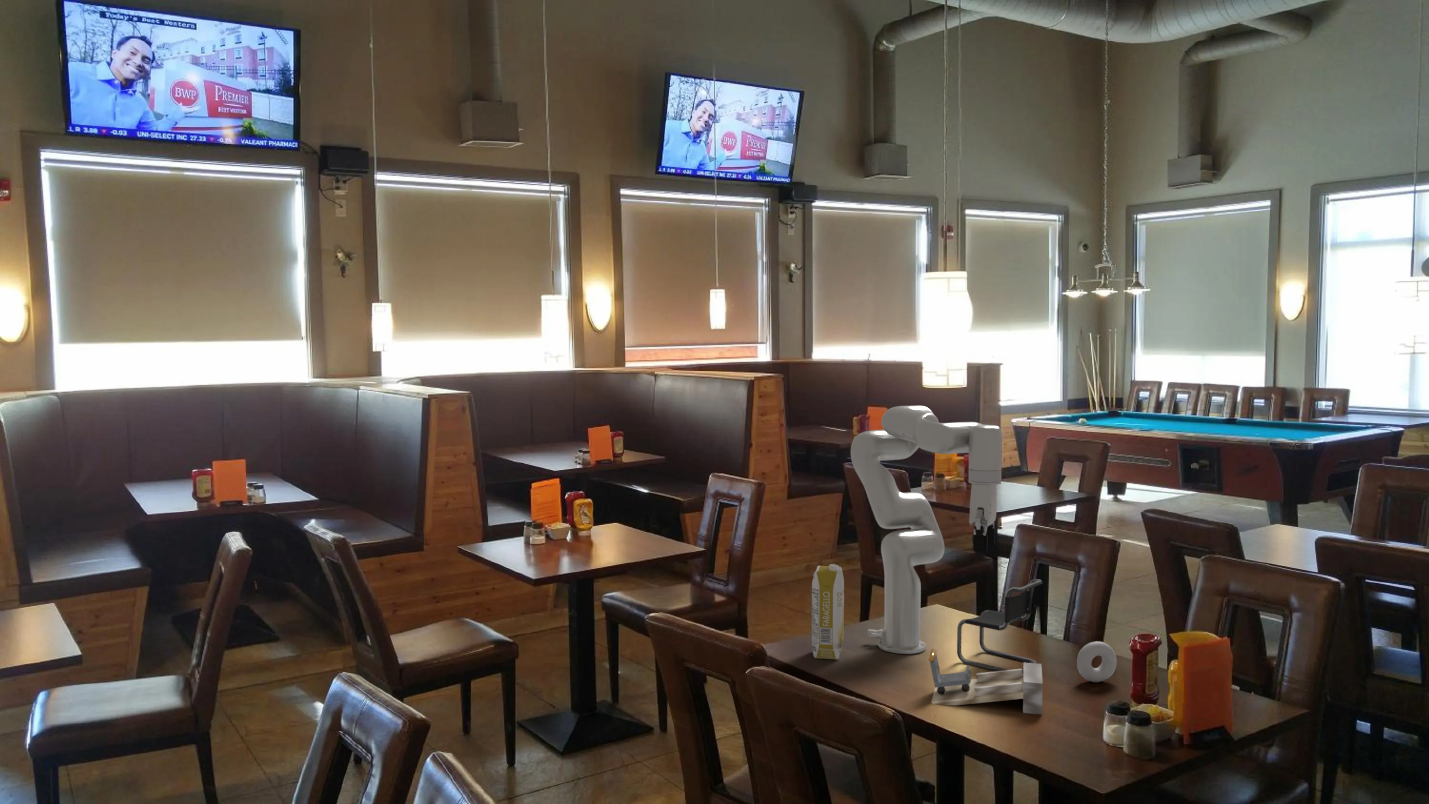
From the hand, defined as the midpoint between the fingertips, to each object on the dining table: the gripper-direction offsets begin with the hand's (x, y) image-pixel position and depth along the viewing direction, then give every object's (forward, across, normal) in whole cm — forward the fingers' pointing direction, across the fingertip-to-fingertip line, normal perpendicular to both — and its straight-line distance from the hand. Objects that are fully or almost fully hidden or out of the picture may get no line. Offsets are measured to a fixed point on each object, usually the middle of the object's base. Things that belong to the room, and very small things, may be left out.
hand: (983, 547), depth 240 cm
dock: (+34, +10, +3) cm, 36 cm away
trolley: (+32, +11, -5) cm, 34 cm away
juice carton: (+33, -5, -41) cm, 52 cm away
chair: (+33, -17, +1) cm, 37 cm away
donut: (+33, -12, +25) cm, 43 cm away
